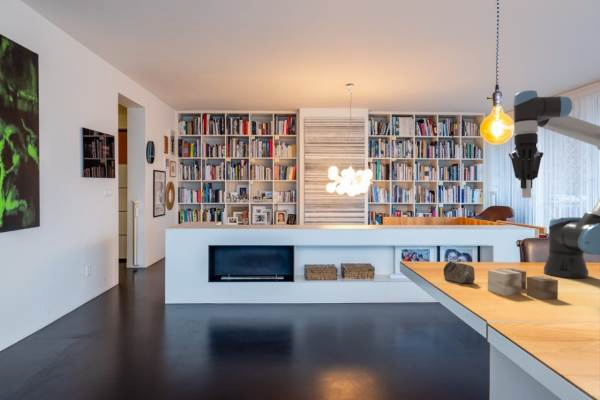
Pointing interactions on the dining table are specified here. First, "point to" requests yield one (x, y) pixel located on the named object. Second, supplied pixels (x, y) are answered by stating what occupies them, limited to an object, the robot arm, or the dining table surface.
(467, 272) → the stone
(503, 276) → the plain block
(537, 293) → the marked block left
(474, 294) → the dining table surface
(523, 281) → the marked block near
